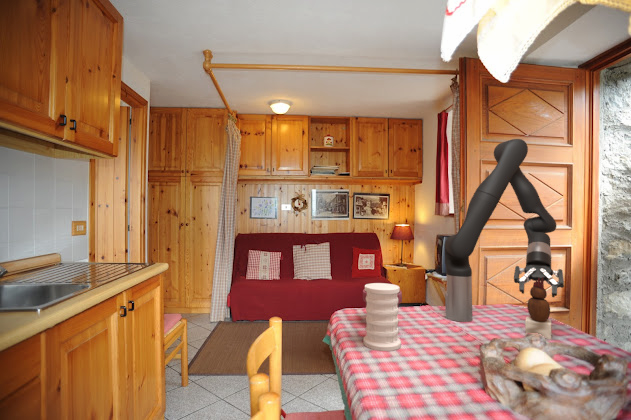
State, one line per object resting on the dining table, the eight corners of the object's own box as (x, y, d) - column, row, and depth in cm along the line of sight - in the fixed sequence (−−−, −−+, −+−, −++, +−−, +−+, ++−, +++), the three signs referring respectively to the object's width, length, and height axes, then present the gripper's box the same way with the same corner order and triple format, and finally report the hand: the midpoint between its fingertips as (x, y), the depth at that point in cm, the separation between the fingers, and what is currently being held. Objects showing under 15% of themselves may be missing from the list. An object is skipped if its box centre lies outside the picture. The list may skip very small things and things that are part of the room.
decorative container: (402, 339, 105) (402, 284, 105) (399, 353, 94) (399, 291, 94) (366, 335, 109) (366, 281, 109) (360, 348, 98) (360, 288, 98)
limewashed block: (525, 335, 109) (525, 320, 109) (527, 330, 114) (526, 316, 114) (551, 340, 105) (550, 324, 105) (551, 335, 110) (551, 320, 110)
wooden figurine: (553, 324, 106) (552, 278, 106) (533, 322, 107) (532, 277, 107) (543, 318, 112) (543, 274, 113) (525, 316, 114) (524, 274, 114)
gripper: (515, 249, 121) (512, 284, 111) (562, 251, 112) (564, 290, 102) (516, 262, 125) (514, 297, 115) (563, 265, 116) (564, 303, 107)
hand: (537, 294), depth 109 cm, fingers open, 8 cm apart
